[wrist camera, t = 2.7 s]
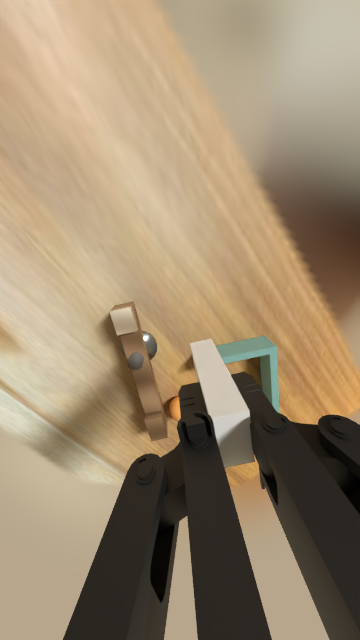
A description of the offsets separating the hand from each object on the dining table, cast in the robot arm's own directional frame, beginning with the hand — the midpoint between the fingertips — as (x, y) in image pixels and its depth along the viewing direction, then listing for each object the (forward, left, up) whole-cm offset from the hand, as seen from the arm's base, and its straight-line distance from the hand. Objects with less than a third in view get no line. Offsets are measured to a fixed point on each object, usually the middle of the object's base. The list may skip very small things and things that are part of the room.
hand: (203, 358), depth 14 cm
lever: (+8, -8, -14) cm, 18 cm away
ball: (+16, -4, -13) cm, 21 cm away
